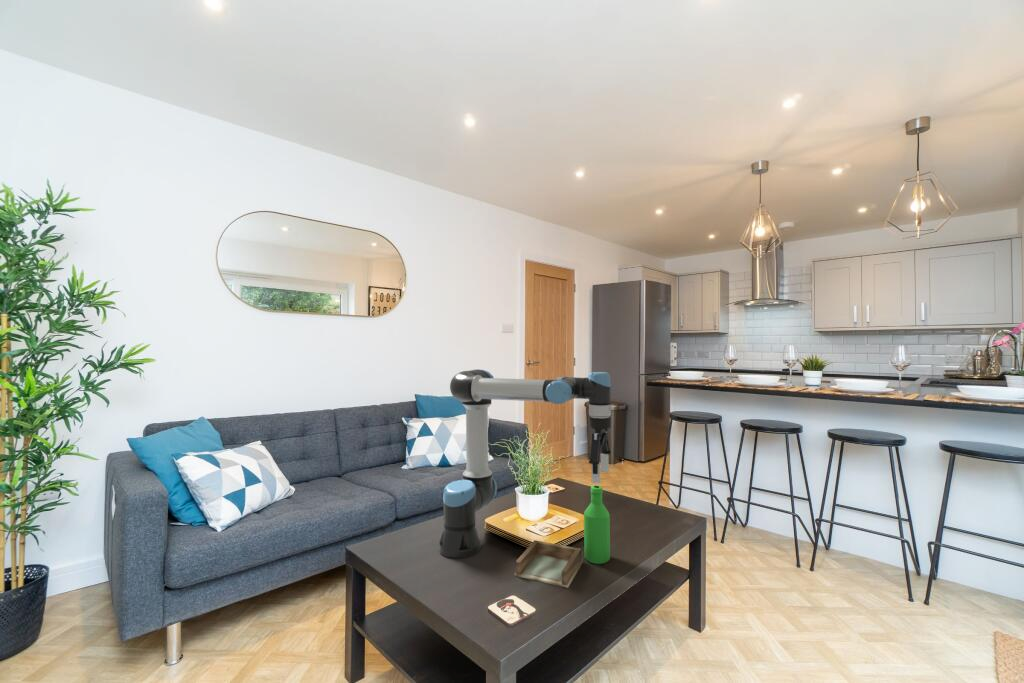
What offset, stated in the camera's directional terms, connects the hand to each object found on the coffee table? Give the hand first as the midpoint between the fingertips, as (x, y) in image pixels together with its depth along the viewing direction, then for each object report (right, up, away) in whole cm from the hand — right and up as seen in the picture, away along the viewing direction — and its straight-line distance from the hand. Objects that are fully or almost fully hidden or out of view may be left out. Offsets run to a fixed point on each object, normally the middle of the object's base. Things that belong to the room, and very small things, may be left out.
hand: (600, 477), depth 154 cm
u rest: (-19, -28, -7) cm, 34 cm away
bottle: (-1, -28, -1) cm, 28 cm away
